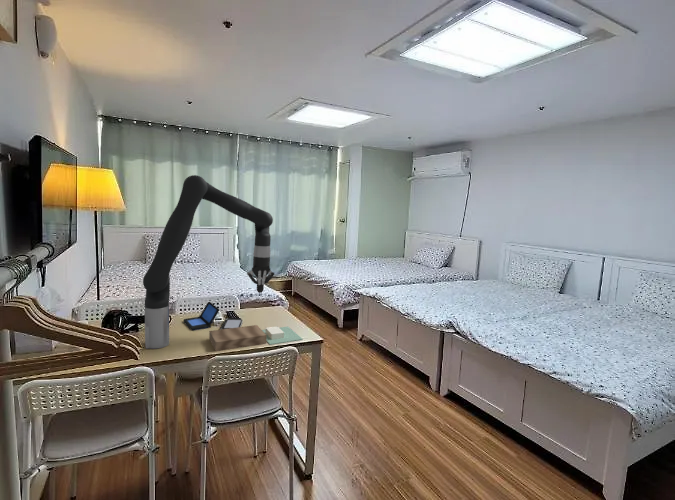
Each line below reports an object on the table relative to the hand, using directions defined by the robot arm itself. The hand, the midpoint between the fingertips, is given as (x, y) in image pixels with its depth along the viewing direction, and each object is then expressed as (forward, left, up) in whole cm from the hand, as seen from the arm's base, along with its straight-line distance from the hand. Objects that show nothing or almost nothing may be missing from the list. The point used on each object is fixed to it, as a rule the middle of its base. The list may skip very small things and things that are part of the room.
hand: (259, 292), depth 169 cm
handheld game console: (-21, +27, -22) cm, 41 cm away
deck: (-10, -2, -22) cm, 24 cm away
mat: (+10, -2, -22) cm, 24 cm away
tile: (+7, -2, -20) cm, 21 cm away
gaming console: (-8, +17, -22) cm, 29 cm away
